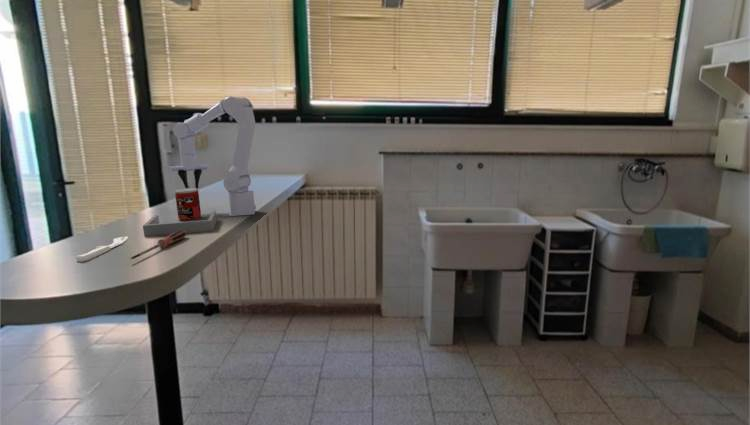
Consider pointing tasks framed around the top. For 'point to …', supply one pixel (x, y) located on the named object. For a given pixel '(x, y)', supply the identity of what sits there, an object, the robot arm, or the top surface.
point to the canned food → (188, 204)
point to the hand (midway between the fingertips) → (192, 188)
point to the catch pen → (178, 226)
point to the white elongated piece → (101, 249)
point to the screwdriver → (165, 242)
